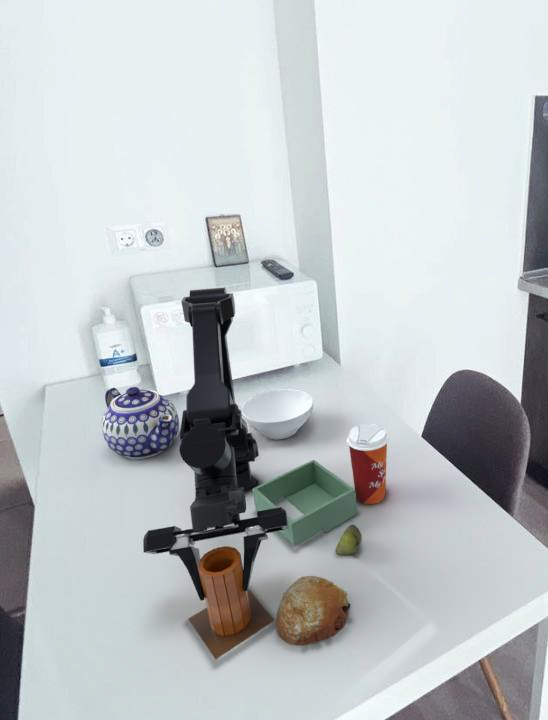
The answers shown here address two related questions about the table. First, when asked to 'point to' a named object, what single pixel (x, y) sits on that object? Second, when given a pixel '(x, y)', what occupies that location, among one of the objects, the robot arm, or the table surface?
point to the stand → (225, 643)
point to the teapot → (139, 422)
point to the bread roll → (311, 611)
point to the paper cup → (368, 461)
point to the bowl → (278, 412)
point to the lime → (349, 541)
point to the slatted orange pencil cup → (224, 590)
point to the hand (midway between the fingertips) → (224, 595)
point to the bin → (309, 500)
